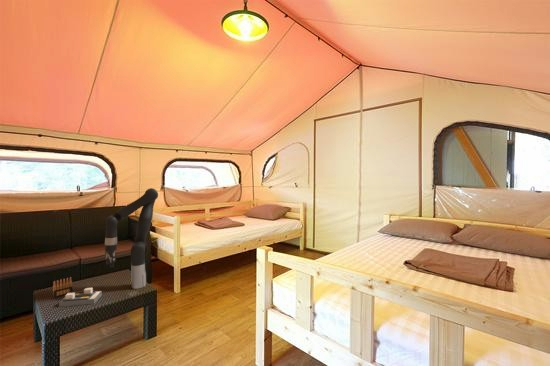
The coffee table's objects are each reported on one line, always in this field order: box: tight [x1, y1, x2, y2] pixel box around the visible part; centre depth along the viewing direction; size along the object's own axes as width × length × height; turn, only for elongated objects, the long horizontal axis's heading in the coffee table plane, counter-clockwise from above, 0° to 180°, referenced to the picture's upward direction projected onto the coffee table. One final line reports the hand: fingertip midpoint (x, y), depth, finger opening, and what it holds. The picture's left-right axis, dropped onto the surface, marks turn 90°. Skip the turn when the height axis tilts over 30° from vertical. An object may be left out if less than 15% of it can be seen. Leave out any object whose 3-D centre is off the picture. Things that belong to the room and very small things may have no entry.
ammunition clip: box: [52, 276, 74, 299], centre depth 180 cm, size 11×2×12 cm, turn 138°
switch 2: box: [83, 287, 94, 294], centre depth 177 cm, size 4×3×3 cm
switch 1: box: [64, 293, 75, 300], centre depth 169 cm, size 4×3×3 cm
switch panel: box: [58, 289, 103, 308], centre depth 174 cm, size 20×12×4 cm, turn 103°
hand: (110, 265), depth 187 cm, fingers open, 8 cm apart
